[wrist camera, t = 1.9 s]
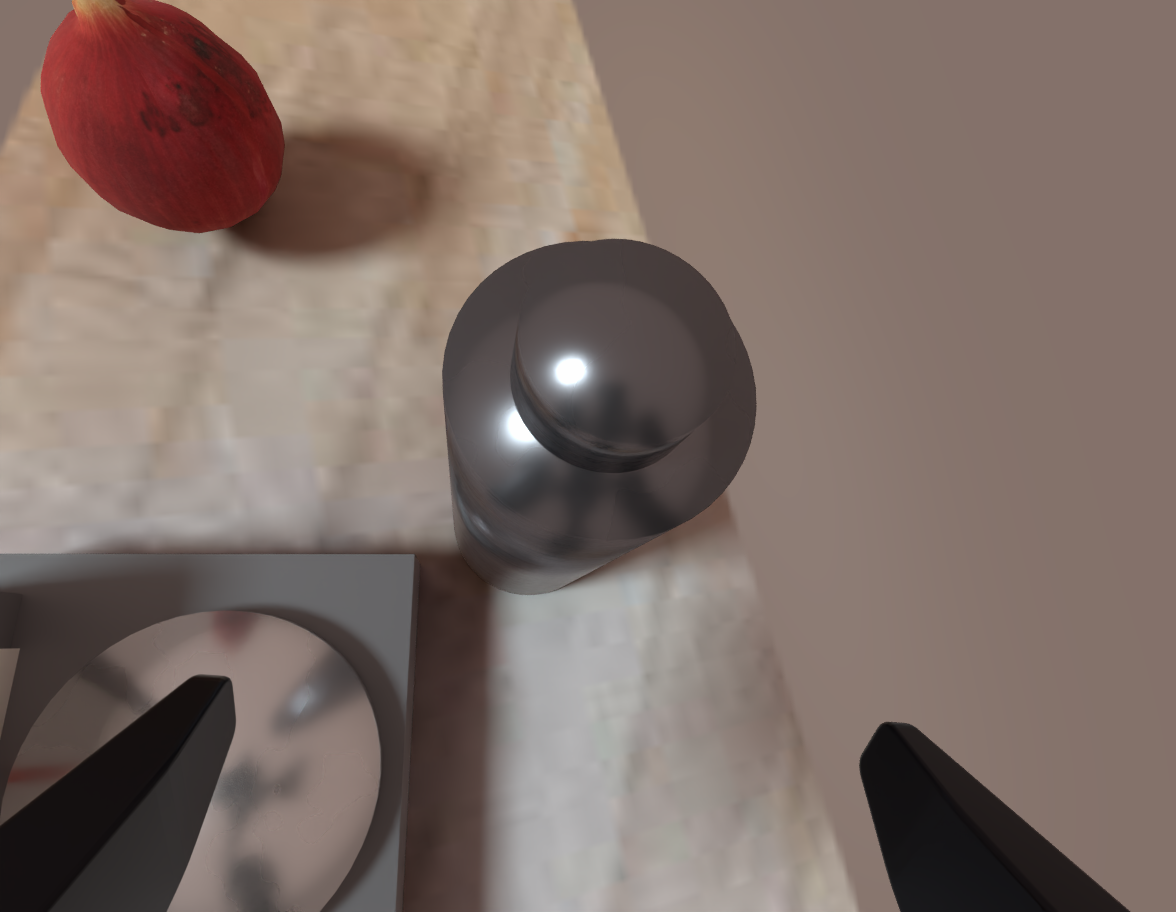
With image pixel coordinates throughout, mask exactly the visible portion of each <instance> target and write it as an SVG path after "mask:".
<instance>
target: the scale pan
mask: <svg viewBox="0 0 1176 912" xmlns="http://www.w3.org/2000/svg"><path fill="white" fill-rule="evenodd" d="M198 674H206V675H220V676H227V677H229V678H230V679H231V681H232V685H233V693H234V703H235V712H236V728H235V733H234V737H233V740H232V743H231V746H230V748H229V751H228V754H227V757H226V760H225V763H224V765H223V768H222V771H221V774H220V777H219V780H218V782H217V785H216V788H215V791H214V794H213V796H212V799H211V802H210V805H209V808H208V811H207V813H206V816H205V819H204V822H203V825H202V828H201V830H200V833H199V836H198V839H197V842H196V845H195V847H194V850H193V853H192V855H191V858H190V861H189V863H188V866H187V868H186V871H185V873H184V875H183V878H182V880H181V882H180V884H179V887H178V889H177V891H176V893H175V895H174V897H173V900H172V902H171V904H170V906H169V908H168V910H167V912H320V911H321V909H322V908H323V907H324V906H325V905H326V903H327V902H328V901H329V900H330V899H331V897H332V896H333V895H334V894H335V892H336V891H337V889H338V888H339V886H340V885H341V883H342V881H343V880H344V878H345V877H346V875H347V874H348V872H349V871H350V869H351V867H352V865H353V863H354V861H355V859H356V857H357V855H358V853H359V851H360V849H361V847H362V845H363V843H364V841H365V839H366V836H367V833H368V831H369V828H370V825H371V823H372V820H373V817H374V814H375V810H376V806H377V802H378V798H379V793H380V786H381V777H382V741H381V734H380V726H379V723H378V719H377V715H376V712H375V708H374V705H373V703H372V700H371V698H370V696H369V693H368V691H367V688H366V687H365V685H364V683H363V682H362V680H361V678H360V677H359V675H358V673H357V672H356V670H355V669H354V668H353V667H352V665H351V664H350V663H349V662H348V660H347V659H346V658H345V657H344V656H343V655H342V654H341V653H340V652H339V651H338V650H337V649H336V648H335V647H334V646H332V645H331V644H330V643H329V642H328V641H326V640H325V639H323V638H322V637H320V636H319V635H317V634H316V633H314V632H313V631H311V630H309V629H307V628H305V627H303V626H301V625H299V624H297V623H295V622H292V621H289V620H285V619H282V618H279V617H276V616H271V615H266V614H260V613H255V612H247V611H226V610H223V611H210V612H200V613H194V614H189V615H184V616H179V617H176V618H172V619H169V620H166V621H163V622H160V623H157V624H154V625H152V626H149V627H147V628H145V629H143V630H140V631H138V632H136V633H134V634H131V635H130V636H128V637H126V638H125V639H123V640H121V641H119V642H118V643H116V644H114V645H112V646H111V647H109V648H108V649H106V650H105V651H104V652H102V653H101V654H99V655H98V656H97V657H95V658H94V659H93V660H91V661H90V662H89V663H87V664H86V665H85V666H84V667H83V668H82V669H81V670H80V671H78V672H77V673H76V674H75V675H74V676H73V677H72V678H71V679H70V680H69V681H68V682H67V683H66V684H65V685H64V686H63V687H62V688H61V689H60V691H59V692H58V693H57V694H56V695H55V696H54V697H53V698H52V699H51V701H50V702H49V703H48V705H47V706H46V707H45V709H44V710H43V712H42V713H41V714H40V716H39V717H38V719H37V720H36V721H35V723H34V724H33V726H32V728H31V730H30V732H29V733H28V735H27V737H26V739H25V740H24V742H23V744H22V746H21V748H20V750H19V752H18V755H17V757H16V760H15V762H14V765H13V767H12V769H11V772H10V775H9V778H8V782H7V786H6V789H5V793H4V796H3V801H2V808H1V815H0V825H1V824H3V823H4V822H5V821H6V820H8V819H9V818H10V817H12V816H13V815H14V814H15V813H17V812H18V811H19V810H20V809H22V808H23V807H24V806H26V805H27V804H28V803H29V802H31V801H32V800H33V799H35V798H36V797H37V796H38V795H40V794H41V793H42V792H44V791H45V790H46V789H47V788H49V787H50V786H51V785H53V784H54V783H55V782H56V781H58V780H59V779H60V778H61V777H63V776H64V775H65V774H67V773H68V772H69V771H70V770H72V769H73V768H74V767H76V766H77V765H78V764H79V763H81V762H82V761H83V760H85V759H86V758H87V757H88V756H90V755H91V754H92V753H94V752H95V751H96V750H97V749H99V748H100V747H101V746H102V745H104V744H105V743H106V742H108V741H109V740H110V739H111V738H113V737H114V736H115V735H117V734H118V733H119V732H120V731H122V730H123V729H124V728H126V727H127V726H128V725H129V724H131V723H132V722H133V721H135V720H136V719H137V718H138V717H140V716H141V715H142V714H143V713H145V712H146V711H147V710H149V709H150V708H151V707H152V706H154V705H155V704H156V703H158V702H159V701H160V700H161V699H163V698H164V697H165V696H167V695H168V694H169V693H170V692H172V691H173V690H174V689H176V688H177V687H178V686H179V685H181V684H182V683H183V682H184V681H186V680H187V679H189V678H190V677H192V676H194V675H198Z"/></svg>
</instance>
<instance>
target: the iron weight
mask: <svg viewBox="0 0 1176 912" xmlns="http://www.w3.org/2000/svg"><path fill="white" fill-rule="evenodd" d="M442 377H443V399H444V411H445V423H446V435H447V447H448V459H449V471H450V483H451V495H452V507H453V519H454V530H455V536H456V540H457V543H458V546H459V549H460V551H461V553H462V555H463V557H464V559H465V560H466V562H467V563H468V565H469V566H470V567H471V568H472V570H473V571H474V572H475V573H476V574H477V575H478V576H479V577H481V578H482V579H483V580H484V581H486V582H487V583H489V584H490V585H492V586H494V587H496V588H498V589H500V590H503V591H506V592H509V593H514V594H520V595H537V594H543V593H548V592H551V591H554V590H557V589H559V588H561V587H563V586H565V585H567V584H569V583H571V582H573V581H574V580H576V579H578V578H580V577H582V576H584V575H586V574H588V573H590V572H591V571H593V570H595V569H597V568H599V567H601V566H603V565H605V564H607V563H608V562H610V561H612V560H614V559H616V558H618V557H620V556H622V555H624V554H626V553H627V552H629V551H631V550H633V549H635V548H637V547H639V546H641V545H643V544H644V543H646V542H648V541H650V540H652V539H654V538H656V537H658V536H660V535H661V534H663V533H665V532H667V531H669V530H671V529H673V528H675V527H677V526H679V525H680V524H682V523H684V522H686V521H688V520H690V519H692V518H693V517H695V516H696V515H697V514H699V513H700V512H702V511H703V510H704V509H706V508H707V507H709V506H710V505H711V504H712V503H713V502H714V501H715V500H716V499H717V498H718V497H719V496H720V495H721V494H722V493H723V492H724V490H725V489H726V488H727V487H728V485H729V484H730V483H731V481H732V480H733V479H734V477H735V476H736V474H737V472H738V470H739V468H740V467H741V465H742V463H743V461H744V459H745V456H746V454H747V451H748V449H749V446H750V443H751V439H752V435H753V430H754V426H755V416H756V387H755V382H754V376H753V370H752V367H751V363H750V360H749V357H748V354H747V351H746V348H745V346H744V344H743V342H742V339H741V337H740V335H739V333H738V331H737V330H736V328H735V326H734V325H733V323H732V321H731V319H730V317H729V314H728V312H727V310H726V307H725V305H724V304H723V302H722V300H721V299H720V297H719V295H718V294H717V292H716V291H715V290H714V288H713V287H712V286H711V284H710V283H709V282H708V281H707V280H706V279H705V278H704V277H703V276H702V275H701V274H700V273H699V272H698V271H697V270H696V269H695V268H693V267H692V266H691V265H690V264H688V263H687V262H685V261H684V260H682V259H681V258H679V257H678V256H676V255H674V254H672V253H670V252H668V251H666V250H664V249H662V248H659V247H656V246H654V245H651V244H647V243H643V242H640V241H633V240H627V239H605V240H596V241H577V242H564V243H559V244H554V245H549V246H544V247H542V248H539V249H536V250H533V251H530V252H527V253H525V254H523V255H521V256H519V257H517V258H515V259H512V260H510V261H509V262H507V263H506V264H504V265H503V266H501V267H500V268H498V269H497V270H495V271H494V272H493V273H492V274H491V275H489V276H488V277H487V278H486V279H485V280H484V281H483V282H482V283H480V285H479V286H478V287H477V288H476V289H475V290H474V292H473V293H472V294H471V295H470V296H469V298H468V299H467V300H466V302H465V304H464V305H463V307H462V308H461V310H460V312H459V313H458V315H457V317H456V320H455V322H454V324H453V326H452V329H451V331H450V334H449V338H448V341H447V345H446V349H445V353H444V362H443V370H442Z"/></svg>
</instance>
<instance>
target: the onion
mask: <svg viewBox="0 0 1176 912" xmlns="http://www.w3.org/2000/svg"><path fill="white" fill-rule="evenodd" d="M72 4H73V7H74V10H72V11H71V12H69V13H68V15H67V16H66V18H65V19H64V20H63V21H62V23H61V24H60V26H59V27H58V28H57V30H56V31H55V33H54V34H53V35H52V37H51V39H50V42H49V45H48V47H47V51H46V56H45V60H44V64H43V69H42V73H41V94H42V98H43V101H44V105H45V108H46V112H47V115H48V118H49V121H50V124H51V127H52V130H53V133H54V136H55V140H56V143H57V146H58V147H59V149H60V151H61V152H62V154H63V155H64V157H65V158H66V160H67V161H68V163H69V165H70V166H71V167H72V168H73V169H74V170H75V171H76V172H77V173H78V174H79V175H80V176H81V177H82V178H83V179H84V180H85V181H86V182H87V183H88V184H89V186H90V187H91V188H92V189H93V190H94V191H95V192H96V193H97V194H98V195H99V196H100V197H102V198H103V199H104V200H106V201H107V202H108V203H110V204H111V205H112V206H114V207H115V208H116V209H118V210H119V211H121V212H124V213H126V214H129V215H131V216H134V217H136V218H138V219H141V220H143V221H146V222H148V223H150V224H153V225H156V226H159V227H162V228H166V229H169V230H177V231H185V232H194V233H203V232H209V231H214V230H219V229H224V228H229V227H232V226H233V225H235V224H237V223H239V222H241V221H242V220H244V219H246V218H248V217H250V216H252V215H253V214H255V213H257V212H258V211H259V210H260V208H261V207H262V206H263V205H264V203H265V202H266V201H267V200H268V198H269V197H270V196H271V195H272V193H273V192H274V191H275V189H276V187H277V184H278V182H279V179H280V177H281V172H282V164H283V155H284V147H285V144H284V138H283V131H282V125H281V121H280V119H279V117H278V115H277V113H276V111H275V109H274V107H273V105H272V103H271V101H270V99H269V97H268V95H267V93H266V91H265V89H264V87H263V85H262V83H261V81H260V79H259V76H258V74H257V72H256V71H255V70H254V69H253V68H252V67H251V65H250V64H249V63H248V62H247V61H246V60H245V59H244V57H243V56H242V55H241V54H240V53H238V52H237V51H236V50H234V49H233V48H232V47H231V46H229V45H228V44H227V43H225V42H224V41H223V40H222V39H220V38H219V37H218V36H217V35H215V34H214V33H213V32H212V31H211V30H210V29H209V28H207V27H206V26H205V25H204V24H203V23H202V22H200V21H199V20H197V19H196V18H194V17H193V16H191V15H190V14H188V13H186V12H184V11H182V10H180V9H178V8H176V7H174V6H172V5H169V4H166V3H162V2H159V1H155V0H72Z"/></svg>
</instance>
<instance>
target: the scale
mask: <svg viewBox="0 0 1176 912" xmlns="http://www.w3.org/2000/svg"><path fill="white" fill-rule="evenodd" d="M419 579H420V563H419V561H418V559H417V558H416V556H415V554H0V815H1V808H2V801H3V796H4V793H5V789H6V786H7V782H8V778H9V775H10V772H11V769H12V767H13V765H14V762H15V760H16V757H17V755H18V752H19V750H20V748H21V746H22V744H23V742H24V740H25V739H26V737H27V735H28V733H29V732H30V730H31V728H32V726H33V724H34V723H35V721H36V720H37V719H38V717H39V716H40V714H41V713H42V712H43V710H44V709H45V707H46V706H47V705H48V703H49V702H50V701H51V699H52V698H53V697H54V696H55V695H56V694H57V693H58V692H59V691H60V689H61V688H62V687H63V686H64V685H65V684H66V683H67V682H68V681H69V680H70V679H71V678H72V677H73V676H74V675H75V674H76V673H77V672H78V671H80V670H81V669H82V668H83V667H84V666H85V665H86V664H87V663H89V662H90V661H91V660H93V659H94V658H95V657H97V656H98V655H99V654H101V653H102V652H104V651H105V650H106V649H108V648H109V647H111V646H112V645H114V644H116V643H118V642H119V641H121V640H123V639H125V638H126V637H128V636H130V635H131V634H134V633H136V632H138V631H140V630H143V629H145V628H147V627H149V626H152V625H154V624H157V623H160V622H163V621H166V620H169V619H172V618H176V617H179V616H184V615H189V614H194V613H200V612H210V611H223V610H226V611H247V612H255V613H260V614H266V615H271V616H276V617H279V618H282V619H285V620H289V621H292V622H295V623H297V624H299V625H301V626H303V627H305V628H307V629H309V630H311V631H313V632H314V633H316V634H317V635H319V636H320V637H322V638H323V639H325V640H326V641H328V642H329V643H330V644H331V645H332V646H334V647H335V648H336V649H337V650H338V651H339V652H340V653H341V654H342V655H343V656H344V657H345V658H346V659H347V660H348V662H349V663H350V664H351V665H352V667H353V668H354V669H355V670H356V672H357V673H358V675H359V677H360V678H361V680H362V682H363V683H364V685H365V687H366V688H367V691H368V693H369V696H370V698H371V700H372V703H373V705H374V708H375V712H376V715H377V719H378V723H379V726H380V734H381V741H382V777H381V786H380V793H379V798H378V802H377V806H376V810H375V814H374V817H373V820H372V823H371V825H370V828H369V831H368V833H367V836H366V839H365V841H364V843H363V845H362V847H361V849H360V851H359V853H358V855H357V857H356V859H355V861H354V863H353V865H352V867H351V869H350V871H349V872H348V874H347V875H346V877H345V878H344V880H343V881H342V883H341V885H340V886H339V888H338V889H337V891H336V892H335V894H334V895H333V896H332V897H331V899H330V900H329V901H328V902H327V903H326V905H325V906H324V907H323V908H322V909H321V911H320V912H403V893H404V873H405V854H406V834H407V815H408V795H409V775H410V756H411V736H412V716H413V697H414V677H415V658H416V638H417V618H418V599H419Z"/></svg>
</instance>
